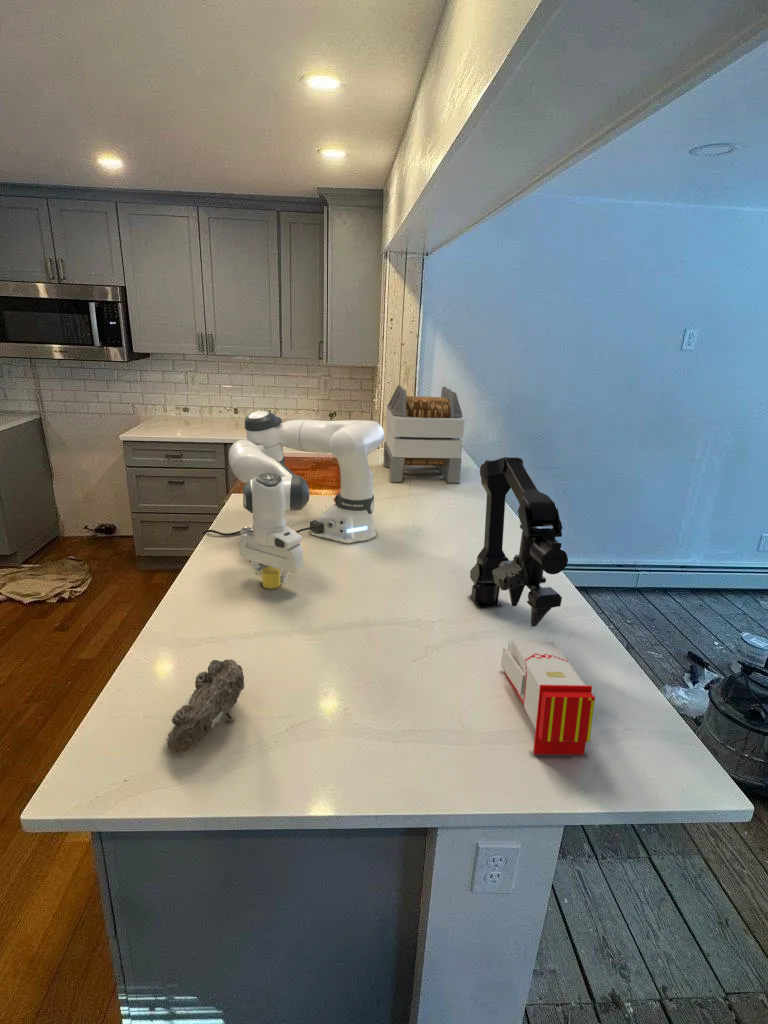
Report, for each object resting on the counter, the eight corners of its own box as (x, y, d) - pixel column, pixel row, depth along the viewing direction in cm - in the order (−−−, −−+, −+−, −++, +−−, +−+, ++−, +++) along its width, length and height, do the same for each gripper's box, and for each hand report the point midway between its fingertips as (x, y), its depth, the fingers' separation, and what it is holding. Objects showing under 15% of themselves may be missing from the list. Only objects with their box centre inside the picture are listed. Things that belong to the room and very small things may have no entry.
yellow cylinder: (272, 590, 157) (272, 575, 155) (258, 585, 159) (258, 571, 158) (284, 583, 161) (283, 569, 159) (270, 578, 163) (270, 564, 162)
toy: (549, 624, 127) (604, 693, 98) (544, 678, 130) (596, 762, 100) (496, 622, 127) (535, 692, 97) (491, 677, 129) (528, 761, 100)
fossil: (192, 660, 117) (244, 628, 112) (224, 691, 120) (276, 661, 115) (142, 746, 98) (202, 712, 93) (182, 779, 101) (242, 748, 96)
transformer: (382, 463, 289) (386, 382, 275) (445, 464, 293) (451, 384, 279) (390, 482, 257) (394, 392, 243) (460, 483, 261) (468, 394, 247)
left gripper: (232, 528, 157) (235, 573, 161) (292, 545, 148) (293, 592, 152) (248, 521, 162) (250, 565, 167) (306, 537, 153) (307, 583, 158)
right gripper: (481, 540, 132) (474, 599, 138) (520, 575, 115) (511, 641, 121) (524, 537, 135) (516, 595, 141) (568, 571, 118) (557, 635, 124)
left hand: (271, 578), depth 159 cm, fingers open, 8 cm apart
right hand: (523, 615), depth 131 cm, fingers open, 9 cm apart
